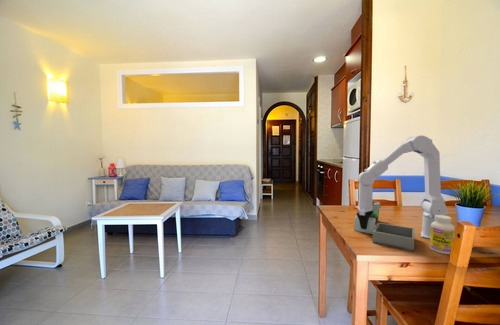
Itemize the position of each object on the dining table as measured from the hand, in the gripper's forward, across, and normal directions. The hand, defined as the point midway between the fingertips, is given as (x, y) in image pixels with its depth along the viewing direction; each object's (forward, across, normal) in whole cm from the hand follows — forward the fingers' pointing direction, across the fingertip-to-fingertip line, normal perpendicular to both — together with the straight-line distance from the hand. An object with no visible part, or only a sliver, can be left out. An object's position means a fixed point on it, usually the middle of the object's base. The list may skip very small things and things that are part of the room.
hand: (364, 227), depth 107 cm
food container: (+2, -19, +1) cm, 19 cm away
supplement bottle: (+2, +7, +27) cm, 28 cm away
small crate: (+2, 0, 0) cm, 2 cm away
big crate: (+2, +6, +12) cm, 14 cm away
